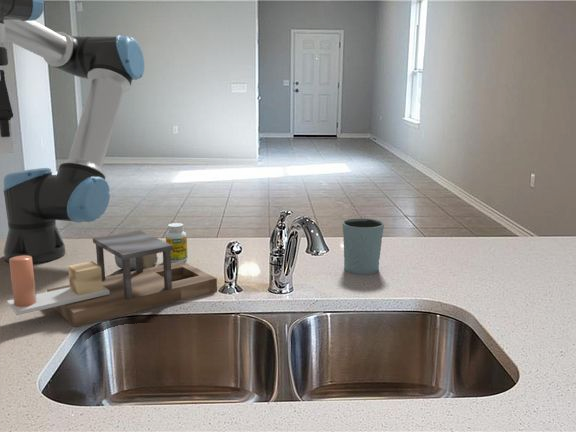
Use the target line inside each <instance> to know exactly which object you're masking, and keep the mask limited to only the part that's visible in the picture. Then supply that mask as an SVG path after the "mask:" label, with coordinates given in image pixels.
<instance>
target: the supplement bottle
mask: <svg viewBox="0 0 576 432" xmlns="http://www.w3.org/2000/svg"><path fill="white" fill-rule="evenodd" d="M184 228H185V227H184V223H180V222H174V223H173V222H172V223H169V224H168V225H167V230H168V232H167V233H166V234H165V242H166V243H168V244H171V245H173V250H171V251H170V256H171V263H175V262H180V261H183V262H186V261H187V260H188V238H187V233H186V232H185V231H184V230H185V229H184Z"/></svg>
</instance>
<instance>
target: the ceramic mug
mask: <svg viewBox="0 0 576 432" xmlns="http://www.w3.org/2000/svg"><path fill="white" fill-rule="evenodd" d="M157 254H158V253H156V254H151V255H145V256H142V260H143V269H147V268H152V267H155V264H157V263H158V258H159V257H158V255H157ZM114 261H115V264H116V266H117V267H118V268H119V269H123V267H122V259H121V258H119V257H117V256H116V255H114ZM131 270H132V271H136V257H135V258H130V271H131Z"/></svg>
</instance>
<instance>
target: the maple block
mask: <svg viewBox="0 0 576 432" xmlns="http://www.w3.org/2000/svg"><path fill="white" fill-rule="evenodd" d="M67 267H68V268H67V269H68V279H69V285H70V289H71V290H72V291H74V292H75V293H76V294H77V295H83V294H88V293H92V292H97V291H101V290H103V285H102V272H101V267H100V266H99V265H97V262H96V263H95V262H94V261H92V260H91V261H85V262H81V263H74V264H71V265H67Z"/></svg>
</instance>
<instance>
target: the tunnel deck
mask: <svg viewBox="0 0 576 432" xmlns="http://www.w3.org/2000/svg"><path fill="white" fill-rule="evenodd" d="M92 243H93V244H95V253H96V264H97V265H99V266H100V267H101V272H102V285H103V286H104V287H105V288H107V289H108V290H109V291H110V294H108V295H104V296H99V297H95V298H91V299H86V300H82V301H78V302H73V303H69V304H65V305H60V306H56V307H52V308H53V309H54V310H56V311H57V313H59V314H60V315H61V316H62V317H63V318H64V319H65V320H67V322H68V323H69V324H70V325H72V326H73V327H74V328H78V327H82V326H86V325H89V324H93V323H97V322H100V321H104V320H109V319H112V318H116V317H121V316H123V315H124V316H125V315H129V314H133V313H135V312H139V311H144V310H148V309H152V308H156V307H159V306H163V305H167V304H171V303H175V302H179V301H182V300H186V299H190V298H194V297H195V298H196V297H198V296H202V295H205V294H209V293H215V292H217V291H218V278H217V277H215V276H213V275H211V274H209V273H207V272H205V271H203V270H201V269H198V268H197V267H195V266H193V265H191V264H189V263H187V262H186V261H184V262H183V261H180V262H175V263H172V262H171V256H170V251H171V250H173V245H171V244H168V243H166V241H164V240H162V239H160V238H158V237H155V236H153V235H151V234H149V233H147V232H144V231H142V230H133V231H132V230H131V231H126V232H121V233H115V234H111V235H110V234H109V235H103V236H98V237H93V238H92ZM104 250H105V251H106V252H109V253H110V254H113V255H114V256H115V255H116V256H117V257H119V258H121V259H122V267H123V268H122V273H119V274H115V275H110V276H106V272H105V271H106V270H105V256H104ZM156 253H157V254H160V253H162V262H163V263H162V264H161V265H156V266H153V267H152V268H147V269H143V260H142V256H145V255H151V254H156ZM135 257H136V270H132V271H131V270H130V258H135ZM68 287H70V284H66V285H61V286H59V287H53V288H47V291H46V292H49V291H54V290H59V289H63V288H68Z"/></svg>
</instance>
